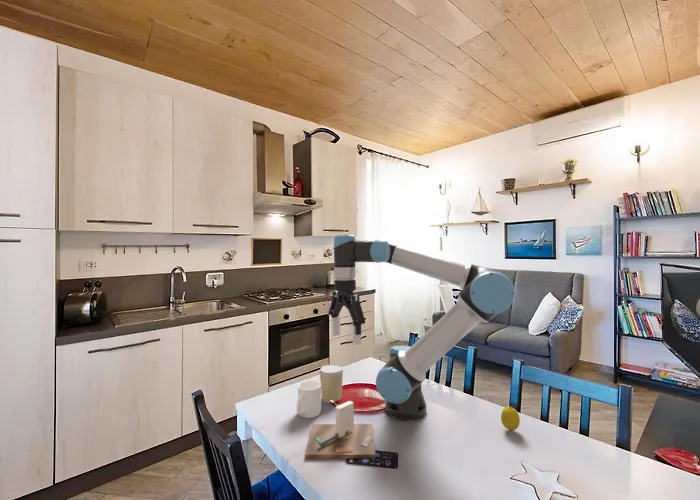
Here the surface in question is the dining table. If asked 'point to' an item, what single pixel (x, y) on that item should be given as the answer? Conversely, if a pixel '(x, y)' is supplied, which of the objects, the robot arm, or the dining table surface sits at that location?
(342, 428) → the beige flat block
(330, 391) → the coffee cup
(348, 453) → the board
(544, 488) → the dining table surface
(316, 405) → the mug
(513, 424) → the lemon
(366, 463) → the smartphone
